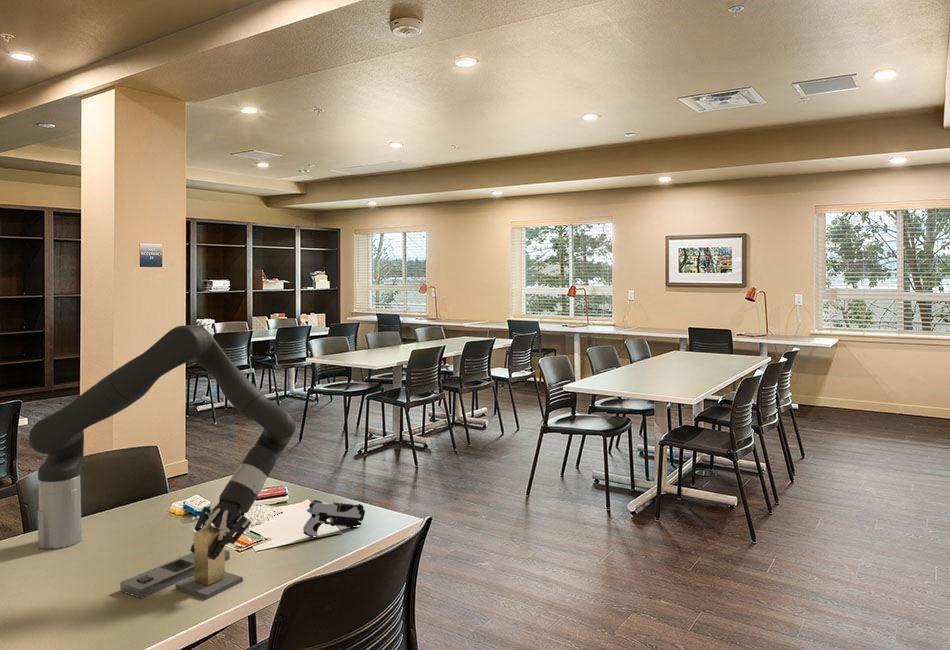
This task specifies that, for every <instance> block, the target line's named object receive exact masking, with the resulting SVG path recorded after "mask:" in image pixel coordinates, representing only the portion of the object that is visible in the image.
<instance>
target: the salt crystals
mask: <svg viewBox="0 0 950 650" xmlns="http://www.w3.org/2000/svg"><path fill="white" fill-rule="evenodd" d="M277 508H278V509H277ZM271 509H272V510H271ZM275 509H276V510H277V511H276V510H275ZM280 509H281V507H280V506H277V507H275V506H274V505H272V506H271V505H268V504H261V506H260V505H258V506H254V505H252V506H251V508H250V510H249V511H248V512H247V513H244V516H245V517H246V518H247V519H248V520H249V521H250V522H251V524H250V525H249V527H248V528H247V529H250V528H251V527H254V526H257V525H260V523H262V522H263V521H266V520H267V519H270V517H273V516H274V515H276V514H279V513H280V512H279V511H278V510H280ZM274 511H276V512H274ZM282 511H283V510H282ZM282 511H281V512H282ZM271 512H272V513H271ZM264 513H265V514H264ZM280 514H281V513H280ZM255 515H256V516H255ZM257 516H258V517H257ZM262 516H263V517H262ZM268 516H269V518H267V517H268ZM199 517H200V515H199V516H197V520H198V519H199ZM263 518H265V519H263ZM266 518H267V519H266ZM191 520H192V521H194V520H196V516H192V519H191ZM251 520H252V521H251ZM270 520H271V519H270ZM267 521H268V520H267ZM267 521H266V522H267ZM252 522H253V523H252ZM263 523H264V522H263ZM263 523H262V524H263ZM256 524H257V525H256Z"/></svg>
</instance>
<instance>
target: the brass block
mask: <svg viewBox="0 0 950 650" xmlns="http://www.w3.org/2000/svg"><path fill="white" fill-rule="evenodd" d="M219 533H220V529H218V528H214V527H209V528H205V529H203V530H200V531H197V532H196V531H194V532H193V543H194V575H193V576H194V579H195V581H196V582H199V583H202V584H205V585H210V584H212V583H215V582H217V581H219V580H221V579H223V578H225V572H226V571H225V570H226V568H225V567H226V566H225V564H226V561H225V555H224V550H225V547H224V548H223V549H222V551H221V553H220V554H219V556H218V557H217V558H216V559H215V560H213V559H210V558H209V557H208V556H207V555H208V553H209V551H210V549H211V548H212V546H213V544H214V543H215V541H216V540H218V537H219Z"/></svg>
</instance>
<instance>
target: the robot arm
mask: <svg viewBox="0 0 950 650" xmlns="http://www.w3.org/2000/svg"><path fill="white" fill-rule="evenodd" d="M190 362H191V363H192V362H195V363H196V364H198V365H200V366H201V367H202V368H203V369H205V370H206V371H207V372H208V373H209V374H210V375H211V376H212V377H213V379H214V380H215V381H216V383H217V385H218V387H219V388H220V391H221V392H222V393H223V395H224V397H225V399H226V400H227V401H228V402H229V403H230V404H231V405H232V406H233V407H234V408H235V409H236V410H237V411H238V412H239V413H240V414H241V415H242V416H243V417H244V418H245V419H247V420H248V421H251V422H252V421H253V422H254V421H255V422H256V423H257V424H258V425H259V426H261V427H262V428H263V430H262V432H261V434H260V436H259V437H258V439H257V441H256V443H254V446H253V447H251V449H250V450H249V451H248V453H247V454H246V456H245V457H244V458H243V460H242V462H241V463H240V464H239V466H238V467H237V469H236V470H235V471H234V473H232V475H231V477H230V479H229V480H228V482H227V483H226V485H225V486H224V487H223V490H222V491H221V493H220V494H219V497H218V498H219V499H218V500H219V501H218V504H216V505H215V506H214V507H213V508H209V507H208V506H204V507H203V508H202V510H201V512H200V515H199V516H200V517H199V519H198V518H197V522H196V524H195V526H194V532H197V531H200V530H203V529H205V528H209V527H214V528H218V529H220V533H219V537H218V540H216V541H215V543H214V544H213V546H212V548H211V549H210V551H209V553H208V555H207V556H208V557H209V558H210V559H213V560H215V559H216V558H217V557H218V556H219V554H220V553H221V551H222V549H223V548H224V549H225V546H226V545H228V544H231V545H234V544H235V543H236V542H237V541H238V540H239V538H241V536H242V535H243V534H244V532H245V531H246V530H247V529H249V528H250V527H249V525H250V524H251V523H252V522H250V521H251V520H250V521H249V520H248V519H247V518H246V517H245V516H244V513H247V512H248V511H249V510H250V508H251V506H252V505H253V504H254V503H255V502H256V500H257V498H258V497H259V494H260V493H261V491H262V490H263V488H264V487H265V484H266V481H267V480H268V478H269V476H270V474H271V472H272V471H273V469H274V467H275V466H276V463H277V461H278V459H279V458H280V456H281V454H282V453H283V452H284V450H285V449H286V447H287V445H288V444H289V442H290V441H291V439H292V438H293V435H294V434H295V432H296V421H295V420H294V418H293V416H292V415H291V414H290V413H289V412H287V410H285V409H284V408H283V407H281V406H280V405H279V404H277V403H275V402H274V401H272V400H270V399H269V398H267V397H266V395H265V394H263V392H261V391H260V389H259V388H258V387H256V385H255V384H253V382H251V381H250V379H248V378H247V376H245V375H244V374H243V373H242V372H241V371H240V369H238V367H237V366H236V365H235V364H234V363H233V362H232V360H231V358H229V356H228V355H227V354H226V353H225V351H224V350H223V349H222V348H221V346H220V345H219V343H218V342H217V341H216V339H215V338H214V337H213V335H212V334H211V333H210V331H208V330H207V329H206V328H205V327H203V326H201V325H199V324H198V325H197V324H188V325H187V324H186V325H185V324H183V325H179V326H175V327H173V328H172V329H170V330H169V331H168V332H166V333H165V334H164V335H163V336H161V337H160V339H158V340H157V341H156V342H155V343H153V344H152V345H151V346H150V347H149V348H147V350H145V351H144V352H143V353H141V354H140V355H137V356H136V357H135V358H133V359H130V360H129V361H127V362H126V363H124V364H123V365H121V366H120V367H119V368H117V369H115V370H114V371H112V372H111V373H109V374H108V375H107V376H105V377H103V378H102V379H100V380H99V381H97V383H95V384H94V385H92V386H91V387H90V388H88V389H87V390H86V391H84V392H83V393H81V395H79V396H78V397H77V398H75V399H74V400H73V401H71V402H70V403H69V404H67V405H66V406H64V407H62V408H61V409H59V410H57V411H55V412H54V413H52V414H49V415H47V416H46V417H43V418H41V419H39V420H38V421H37V422H35V424H34V425H33V426H32V427H31V429H30V431H29V433H28V434H29V435H28V442H29V446H30V447H31V448H32V450H34V451H35V452H37V453H39V454H42V455H47V457H46V459H45V460H44V462H43V463H42V464H41V465H40V467H39V468H38V469H37V481H38V483H37V484H38V485H37V486H38V511H37V528H38V529H37V531H38V532H37V536H38V549H39V548H41V549H48V548H53V549H60V547H62V548H67V547H70V546H73V545H76V544H78V543H79V542H80V541H82V539H83V538H82V537H83V536H82V535H83V534H82V532H83V531H82V502H81V501H82V500H81V499H82V497H81V495H82V494H81V493H82V491H81V468H82V465H83V461H84V456H85V455H84V452H85V432H84V430H86V429H88V428H89V427H91V426H94V425H95V424H97V423H100V422H102V421H104V420H106V419H109V418H110V417H113V416H114V415H116V414H119V413H120V412H121V411H123V410H126V408H128V407H130V406H132V405H133V404H135V403H136V402H138V401H139V400H140V399H141V398H143V397H144V396H145V395H146V394H147V393H148V392H149V391H150V389H152V387H153V386H154V384H156V382H157V381H158V380H159V379H160V378H162V376H164V375H166V374H167V373H169V372H171V371H173V370H174V369H176V368H177V367H179V366H182V365H184V364H186V363H187V364H188V363H190ZM250 526H251V525H250ZM248 527H249V528H248ZM66 546H67V547H66ZM190 553H194V542H193V543H192V544H191V546H190Z"/></svg>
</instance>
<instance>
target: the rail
mask: <svg viewBox="0 0 950 650" xmlns="http://www.w3.org/2000/svg"><path fill="white" fill-rule="evenodd" d="M230 554H231V553H230V550H227V549H224V555H225V562H227V561H228V560H230V559H231V558H230ZM180 568H181V570H179V571H177V572H175V571H174V570H177V569H180ZM193 576H194V553H192V552H190V553H188V554H185V555H183V556H181V557H178V558H176V559H173V560H170V561H169V562H166V563H164V564H162V565H159V566H156V567H154V568H152V569H149V570H147V571H144V572H142V573H139V574H137V575H134V576H132V577H130V578H127V579H124V580H123V581H120V584H119V586H120V590H122V591H124V592H127V593H130V594H133V595H135V596H138V597H140V598H139V599H143V598H142V597H144V598H145V596H146V597H148V596H150V595H152V593H153V594H155V593H157V592H159V591H161V590H163V589H166V588H168V587H171V586H172V585H175V584H177V583H179V582H182V581H184V580H186V579H188V578H191V577H193ZM122 591H121V592H122ZM124 592H123V593H124ZM154 592H155V593H154ZM127 593H126V594H127ZM130 594H129V595H130ZM149 594H150V595H149ZM133 595H132V596H133ZM147 595H148V596H147ZM135 596H134V597H135ZM138 597H137V598H138Z"/></svg>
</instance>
